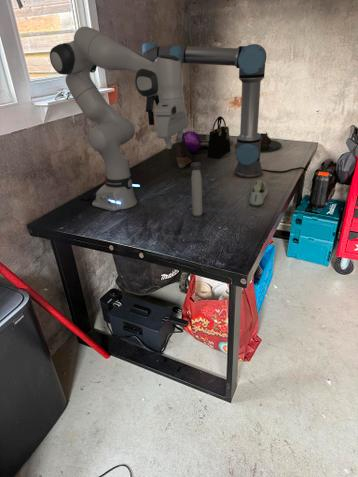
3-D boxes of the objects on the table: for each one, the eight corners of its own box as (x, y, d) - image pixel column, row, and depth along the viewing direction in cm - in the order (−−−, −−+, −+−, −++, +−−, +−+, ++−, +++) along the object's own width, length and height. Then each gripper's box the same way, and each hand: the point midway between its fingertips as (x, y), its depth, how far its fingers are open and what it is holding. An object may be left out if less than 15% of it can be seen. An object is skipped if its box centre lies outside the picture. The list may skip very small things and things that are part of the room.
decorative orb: (204, 151, 235) (204, 129, 228) (194, 156, 225) (193, 134, 217) (186, 149, 243) (186, 128, 235) (175, 154, 232) (174, 132, 224)
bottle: (199, 210, 151) (198, 162, 139) (204, 214, 147) (203, 164, 136) (190, 212, 149) (189, 163, 138) (195, 216, 146) (193, 166, 134)
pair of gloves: (199, 151, 237) (198, 143, 234) (184, 143, 257) (184, 136, 255) (235, 144, 246) (235, 137, 244) (218, 138, 267) (218, 131, 264)
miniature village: (250, 138, 260) (251, 126, 256) (289, 145, 237) (291, 132, 233) (223, 147, 242) (223, 134, 237) (263, 155, 219) (264, 141, 215)
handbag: (218, 159, 217) (218, 119, 204) (206, 157, 221) (205, 119, 209) (231, 151, 232) (232, 114, 219) (219, 150, 236) (220, 113, 224)
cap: (198, 166, 140) (198, 161, 139) (203, 169, 137) (202, 163, 136) (189, 168, 139) (189, 163, 138) (193, 170, 135) (193, 165, 134)
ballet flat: (269, 188, 169) (270, 173, 165) (265, 208, 149) (266, 191, 145) (252, 187, 171) (253, 172, 167) (246, 206, 151) (247, 190, 147)
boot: (194, 157, 223) (193, 127, 213) (188, 169, 203) (187, 135, 193) (182, 157, 225) (180, 127, 215) (174, 168, 205) (172, 136, 194)
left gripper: (175, 102, 127) (177, 138, 134) (151, 111, 111) (155, 152, 118) (190, 101, 125) (192, 138, 132) (168, 111, 109) (171, 152, 116)
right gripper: (153, 76, 176) (156, 117, 187) (136, 81, 156) (141, 127, 166) (166, 76, 175) (169, 117, 185) (151, 80, 154) (155, 127, 165)
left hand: (174, 145), depth 125 cm, fingers open, 8 cm apart
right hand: (156, 122), depth 176 cm, fingers open, 13 cm apart
